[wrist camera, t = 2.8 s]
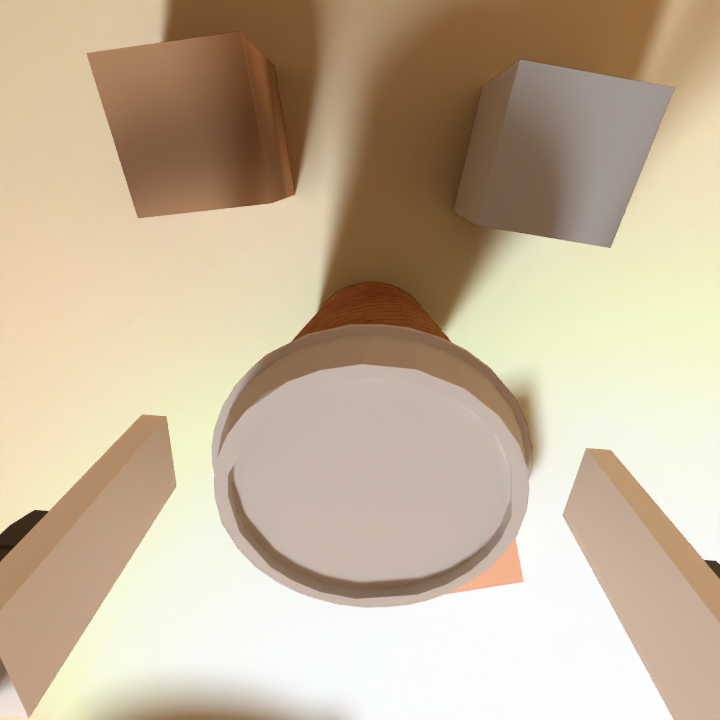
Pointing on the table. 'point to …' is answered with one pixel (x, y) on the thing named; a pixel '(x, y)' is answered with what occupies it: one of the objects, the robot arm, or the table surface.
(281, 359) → the disposable coffee cup
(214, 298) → the table surface
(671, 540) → the robot arm
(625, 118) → the slate grey cube
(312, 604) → the table surface
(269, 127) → the walnut cube
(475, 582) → the terracotta cube
